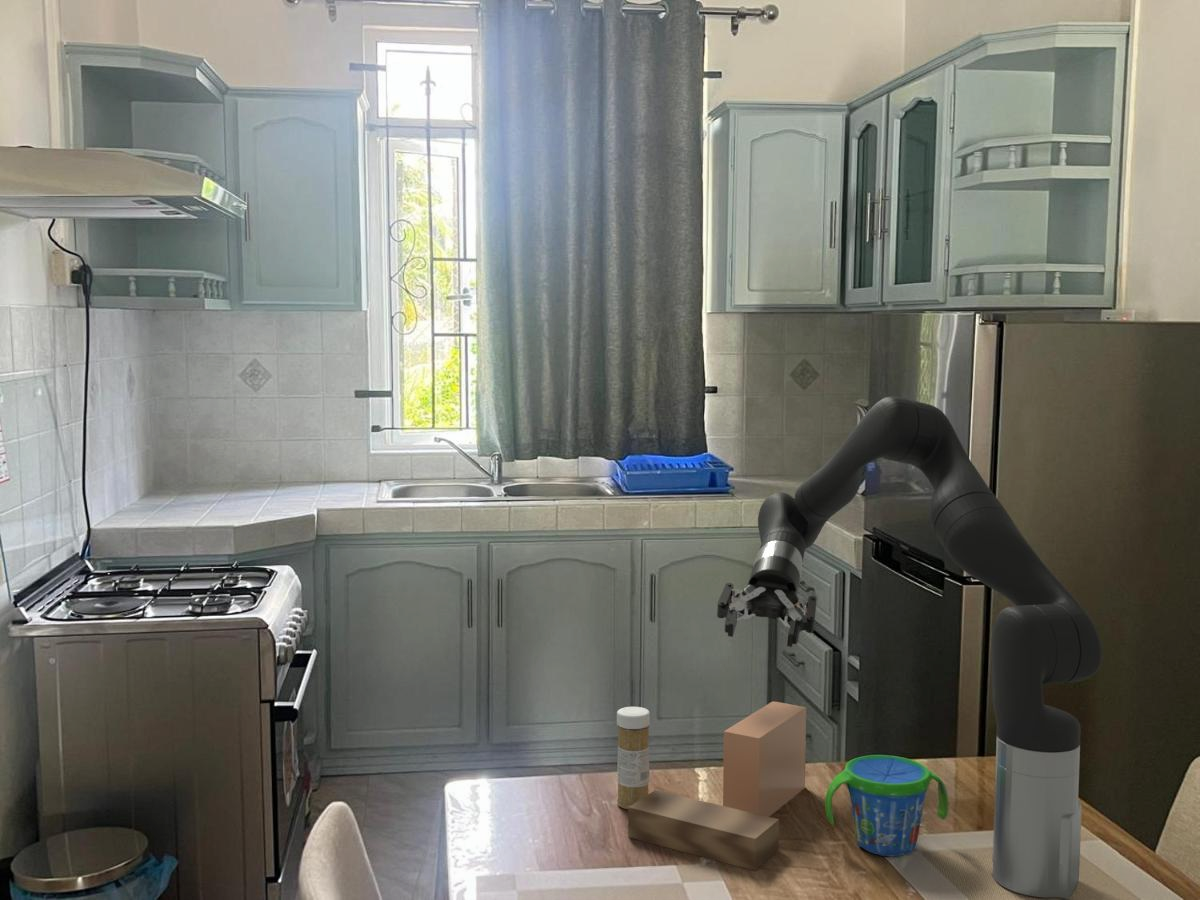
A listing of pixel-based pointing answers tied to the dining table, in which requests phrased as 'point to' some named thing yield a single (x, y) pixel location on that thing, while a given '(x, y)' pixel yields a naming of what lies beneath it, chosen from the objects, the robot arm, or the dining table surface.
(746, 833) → the brown wooden bar
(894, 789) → the snack cup
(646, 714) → the sprinkles bottle
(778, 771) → the block
